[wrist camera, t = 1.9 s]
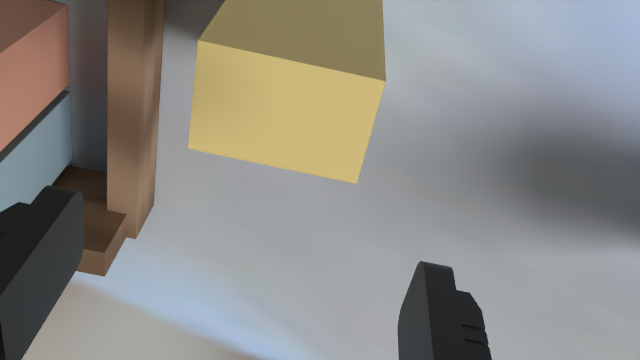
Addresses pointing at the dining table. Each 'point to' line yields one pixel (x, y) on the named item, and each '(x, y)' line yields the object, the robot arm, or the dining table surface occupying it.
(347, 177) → the tan rectangular block
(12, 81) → the book
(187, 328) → the dining table surface
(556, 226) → the dining table surface
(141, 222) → the shelf rail
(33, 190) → the book
